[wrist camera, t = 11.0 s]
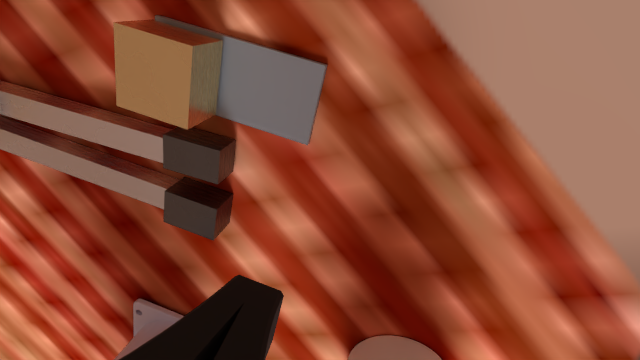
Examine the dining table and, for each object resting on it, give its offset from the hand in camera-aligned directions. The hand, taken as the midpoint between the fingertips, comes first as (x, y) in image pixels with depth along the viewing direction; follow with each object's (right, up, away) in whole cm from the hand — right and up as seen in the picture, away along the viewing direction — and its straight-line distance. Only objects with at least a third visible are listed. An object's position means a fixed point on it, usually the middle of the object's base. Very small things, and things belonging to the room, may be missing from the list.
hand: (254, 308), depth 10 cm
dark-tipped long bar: (-12, +5, +12) cm, 17 cm away
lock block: (-4, +9, +8) cm, 13 cm away
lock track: (-2, +8, +8) cm, 11 cm away
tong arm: (-11, +7, +10) cm, 17 cm away
